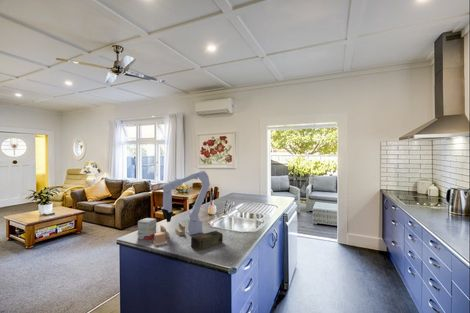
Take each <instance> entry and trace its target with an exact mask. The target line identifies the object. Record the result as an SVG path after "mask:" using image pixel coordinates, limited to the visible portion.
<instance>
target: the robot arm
mask: <svg viewBox="0 0 470 313" xmlns="http://www.w3.org/2000/svg"><path fill="white" fill-rule="evenodd" d="M191 180H200V181H201V184H202V186H201V188H200V190H199V193H198V195H197V197H196V200H195V201H194V202H195V203H194V204H193V206H192V208H191V209H190V210H189V213H188V215H189V217H188V230H185V233H188V235H190V236H191V235H199V234H204V232H203V220H202V219H201V218H199V213H200V210H201V207H202V205H203V202H204V200H205V198H206V195H207V192H208V191H209V188H210V185H211V184H210V178H209V175H208V174H207V172H206V171H205V170H202V169H201V170H198V171H195V172H193V173H190V174H189V175H187V176H184V177H183V178H179V177H178V178H175V179H173V180H171V181H168V182H166V183H164V185H163V186H162V193H163V194H162V207H161V208H160V210H161V212H162V215H163V219H164V220H165V221H166V222H167V223H170V222H171V221H172V216H173V214H174V211H172V208H173V205H172V203H173V202H172V199H173V196H172V190H175V189H178V188H181V187H182V186H183V185H184V183H186V182H189V181H191Z"/></svg>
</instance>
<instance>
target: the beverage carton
mask: <svg viewBox="0 0 470 313" xmlns="http://www.w3.org/2000/svg"><path fill="white" fill-rule="evenodd" d="M223 235H224V234H223V233H222V232H220V231H218V230H214V231H208V232H204V233H200V234H196V235H194V236H191V238H190V247H191V248H193V249H194V250H195V251H201V250H203V249H207V248H209V247H212V246H213V247H214V246H217V245H219V244H222V243H223V239H224V238H223V237H224V236H223Z"/></svg>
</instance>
